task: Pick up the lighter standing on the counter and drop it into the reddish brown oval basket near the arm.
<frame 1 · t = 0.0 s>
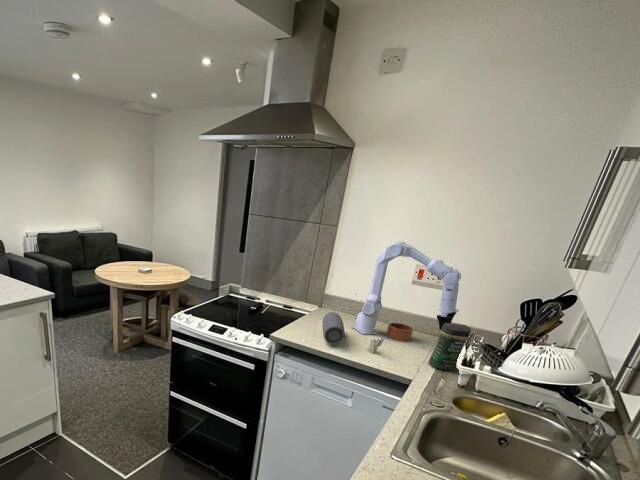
hand: (444, 329, 171), 11 cm above the worktop, tool pointing down, fingers open, 7 cm apart
bluetooth speaker: (330, 338, 181), on the worktop
reddish brown oval basket: (397, 337, 190), on the worktop
coffee jar: (441, 367, 160), on the worktop
lighter: (373, 353, 169), on the worktop
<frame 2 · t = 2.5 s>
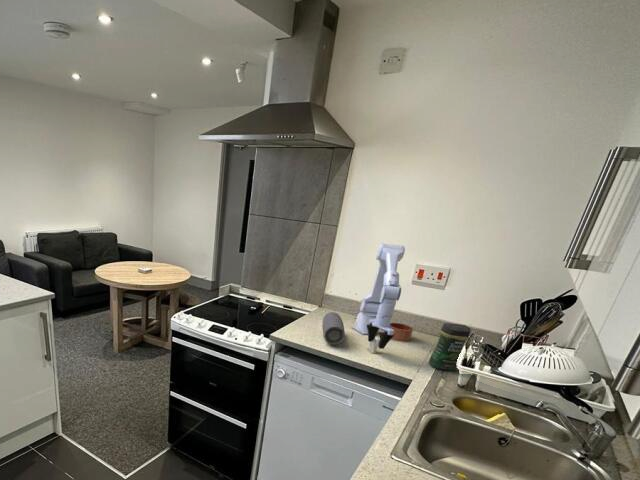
hand: (375, 344, 167), 4 cm above the worktop, tool pointing down, fingers closed on lighter, 7 cm apart
lighter: (373, 353, 169), on the worktop, touching gripper
everything else where it was.
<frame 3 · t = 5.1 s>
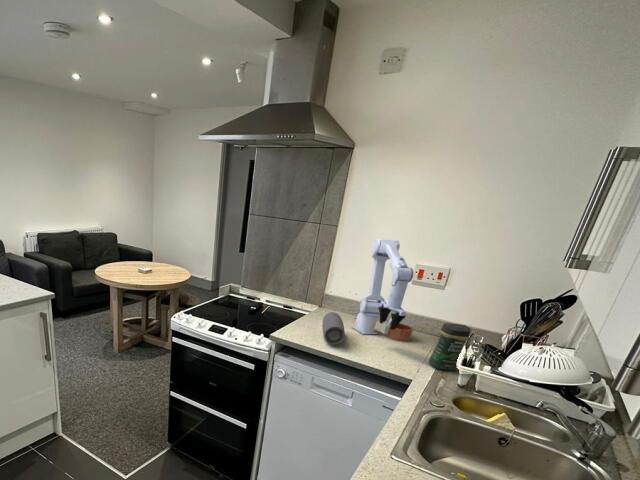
hand: (387, 326, 170), 10 cm above the worktop, tool pointing down, fingers closed on lighter, 7 cm apart
lighter: (385, 334, 172), point 7 cm above the worktop, touching gripper
everything else where it was.
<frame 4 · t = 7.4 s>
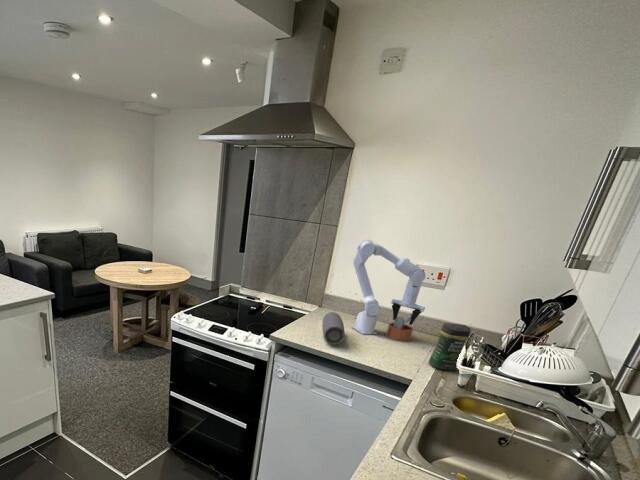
hand: (402, 321, 187), 8 cm above the worktop, tool pointing down, fingers closed on lighter, 7 cm apart
lighter: (400, 328, 188), point 4 cm above the worktop, touching gripper
everything else where it was.
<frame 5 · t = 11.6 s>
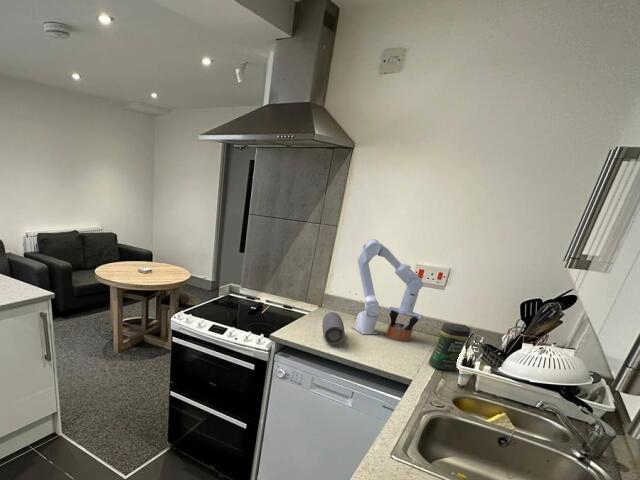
hand: (400, 329, 188), 4 cm above the worktop, tool pointing down, fingers closed on lighter, 7 cm apart
lighter: (398, 336, 190), resting on reddish brown oval basket, touching gripper
everything else where it was.
when the fingers open (5 cm above the worktop, at t = 12.2 s): lighter stays where it is, resting on reddish brown oval basket.
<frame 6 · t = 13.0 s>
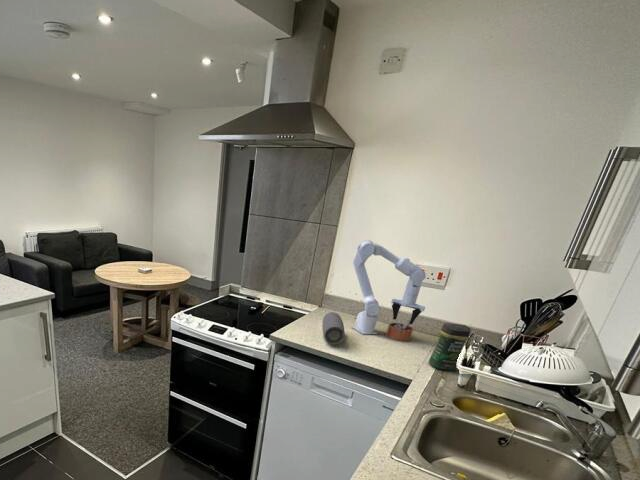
hand: (402, 321, 187), 8 cm above the worktop, tool pointing down, fingers open, 7 cm apart
lighter: (399, 336, 189), point 1 cm above the worktop, touching gripper, reddish brown oval basket
everything else where it was.
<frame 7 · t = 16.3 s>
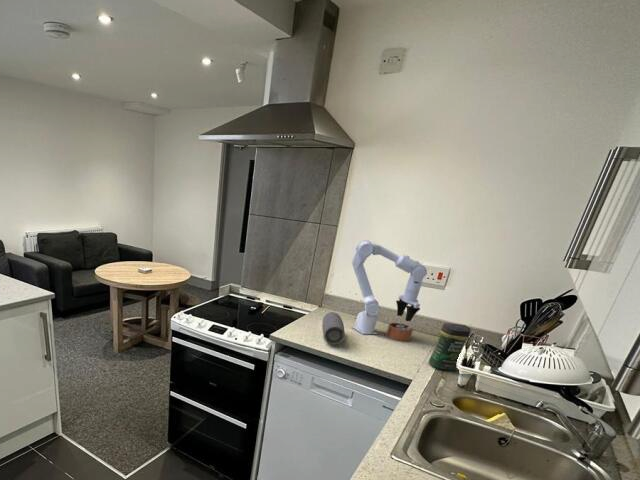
hand: (403, 318, 186), 10 cm above the worktop, tool pointing down, fingers open, 7 cm apart
lighter: (399, 336, 189), point 1 cm above the worktop, touching reddish brown oval basket
everything else where it was.
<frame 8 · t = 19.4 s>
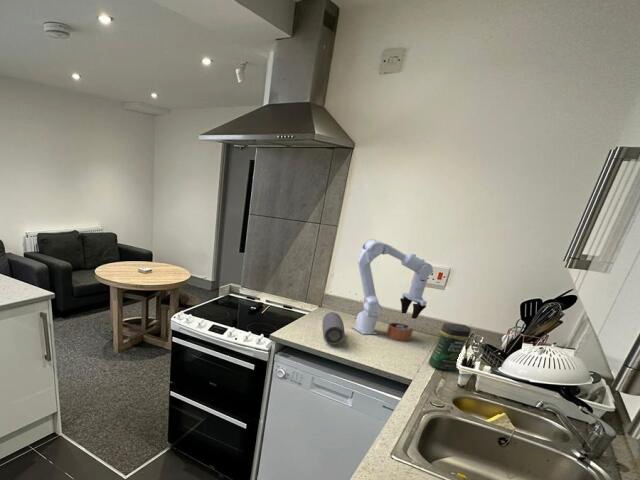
hand: (408, 315, 188), 10 cm above the worktop, tool pointing down, fingers open, 7 cm apart
nothing on the worktop moved.
at the end: lighter inside the target area in the reddish brown oval basket (0.7 cm from its centre), point 0.6 cm above the reddish brown oval basket's base; the gripper is holding nothing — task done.
